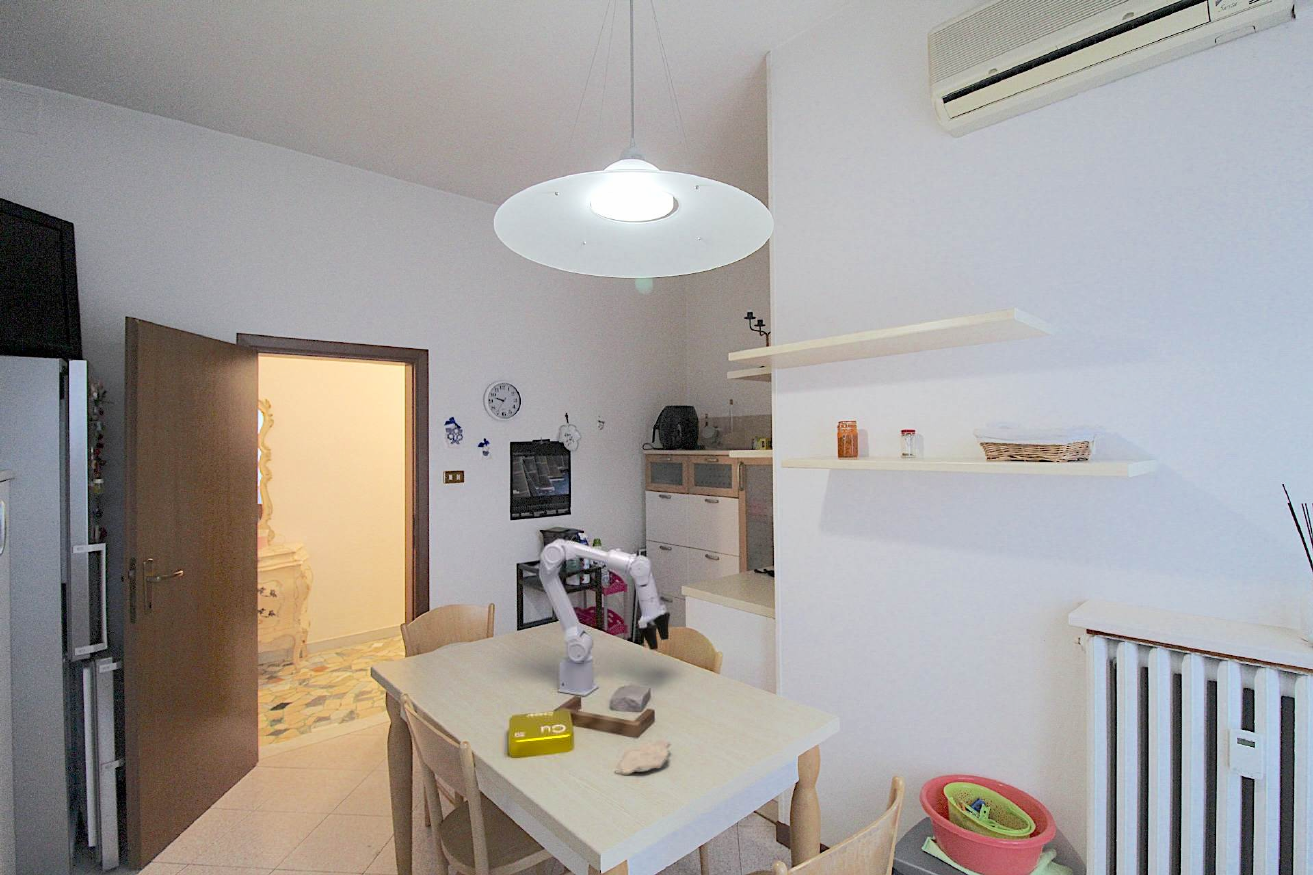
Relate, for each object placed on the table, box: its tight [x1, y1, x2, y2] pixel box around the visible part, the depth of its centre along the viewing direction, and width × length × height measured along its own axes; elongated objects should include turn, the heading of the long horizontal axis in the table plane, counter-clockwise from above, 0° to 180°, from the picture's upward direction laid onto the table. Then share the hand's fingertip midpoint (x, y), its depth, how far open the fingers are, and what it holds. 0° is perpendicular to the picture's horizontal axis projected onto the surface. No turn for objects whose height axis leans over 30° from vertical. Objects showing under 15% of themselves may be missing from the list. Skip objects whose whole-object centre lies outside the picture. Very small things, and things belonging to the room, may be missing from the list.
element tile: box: [507, 710, 575, 759], centre depth 150 cm, size 15×15×5 cm
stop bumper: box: [553, 695, 656, 739], centre depth 160 cm, size 24×10×3 cm, turn 65°
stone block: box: [609, 683, 651, 713], centre depth 171 cm, size 12×5×10 cm
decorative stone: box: [614, 739, 672, 776], centre depth 138 cm, size 11×4×15 cm
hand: (659, 644), depth 180 cm, fingers open, 7 cm apart
